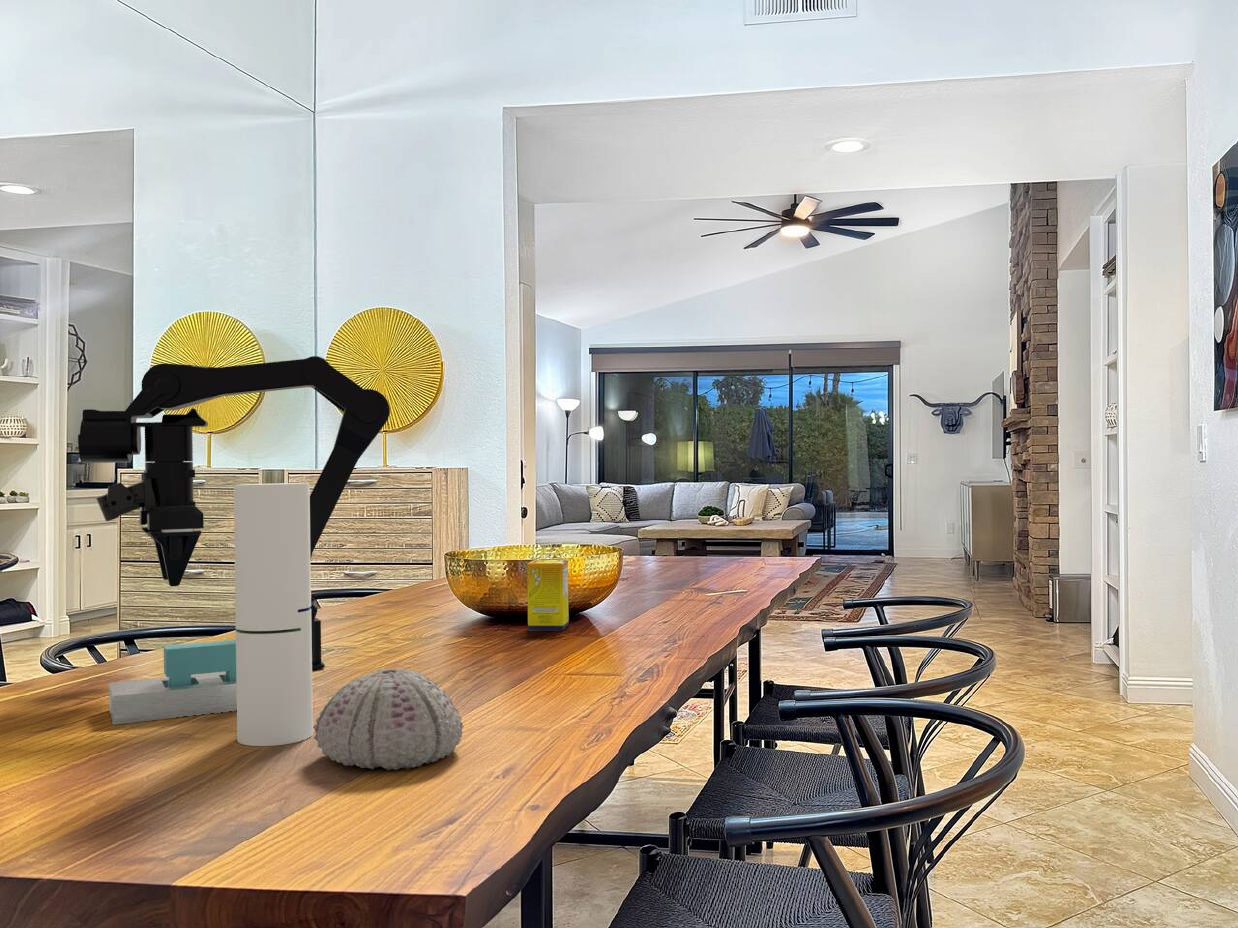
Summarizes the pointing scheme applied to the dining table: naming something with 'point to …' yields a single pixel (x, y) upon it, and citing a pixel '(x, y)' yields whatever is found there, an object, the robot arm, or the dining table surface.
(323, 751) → the sea urchin shell
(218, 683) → the rail
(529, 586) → the supplement box
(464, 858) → the dining table surface
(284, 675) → the cylindrical container
